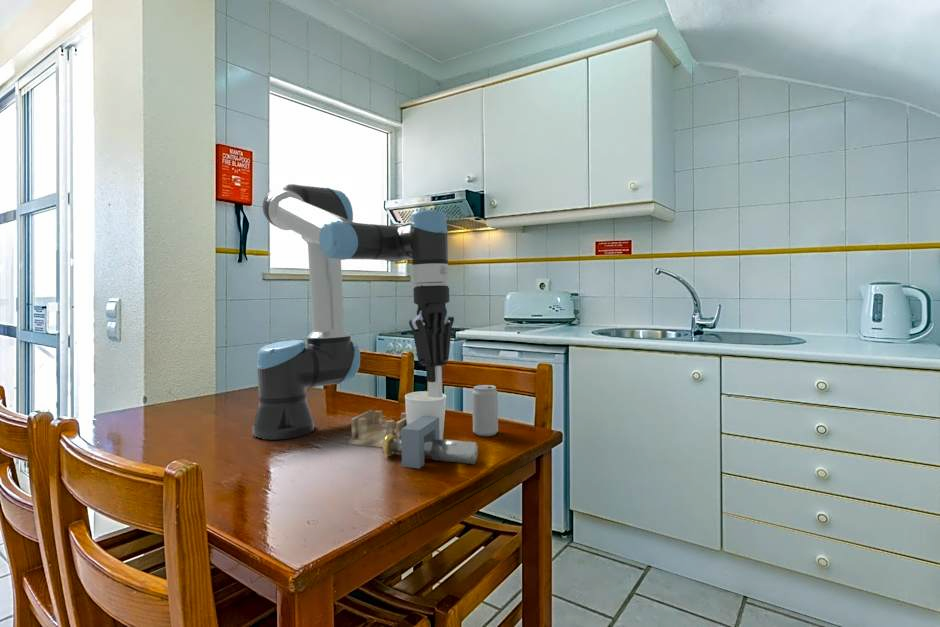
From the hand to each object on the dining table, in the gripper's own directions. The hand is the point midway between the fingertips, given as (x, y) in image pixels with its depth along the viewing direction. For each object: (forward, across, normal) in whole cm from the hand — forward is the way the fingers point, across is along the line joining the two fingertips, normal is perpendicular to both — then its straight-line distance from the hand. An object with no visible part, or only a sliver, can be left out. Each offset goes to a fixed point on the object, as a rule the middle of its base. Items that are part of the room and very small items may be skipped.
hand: (435, 396), depth 110 cm
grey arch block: (+14, 0, +4) cm, 15 cm away
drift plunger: (+14, -1, +7) cm, 15 cm away
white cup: (+15, +9, +11) cm, 20 cm away
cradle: (+14, +6, +21) cm, 25 cm away
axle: (+12, +3, -2) cm, 13 cm away
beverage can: (+14, +23, +2) cm, 27 cm away
